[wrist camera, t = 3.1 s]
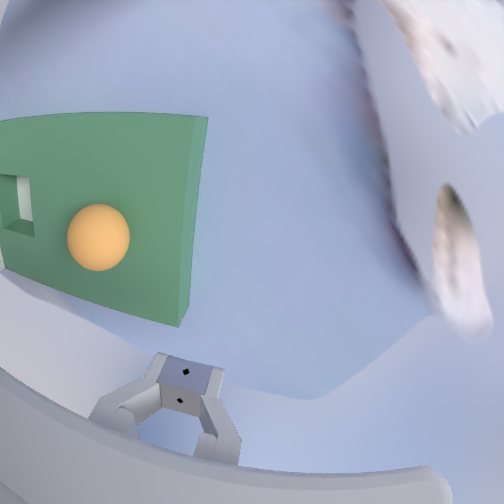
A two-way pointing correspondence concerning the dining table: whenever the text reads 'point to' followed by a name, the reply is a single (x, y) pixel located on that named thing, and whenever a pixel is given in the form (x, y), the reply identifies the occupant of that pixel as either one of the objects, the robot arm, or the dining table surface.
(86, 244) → the ball
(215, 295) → the dining table surface
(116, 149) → the green
